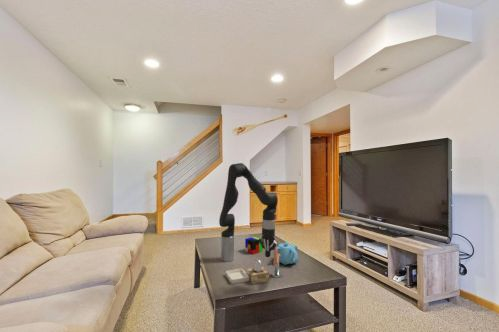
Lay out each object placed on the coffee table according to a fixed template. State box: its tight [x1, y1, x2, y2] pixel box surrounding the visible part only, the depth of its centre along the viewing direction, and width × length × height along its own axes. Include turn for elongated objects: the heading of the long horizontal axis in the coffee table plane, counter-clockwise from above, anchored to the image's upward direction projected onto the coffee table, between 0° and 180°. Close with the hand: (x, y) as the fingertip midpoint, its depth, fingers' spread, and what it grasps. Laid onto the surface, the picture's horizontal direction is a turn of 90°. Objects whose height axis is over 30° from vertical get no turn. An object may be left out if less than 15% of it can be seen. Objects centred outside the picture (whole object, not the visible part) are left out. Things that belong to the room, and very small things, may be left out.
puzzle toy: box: [244, 236, 264, 255], centre depth 187 cm, size 10×10×10 cm
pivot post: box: [269, 259, 284, 279], centre depth 143 cm, size 6×6×11 cm
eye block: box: [246, 266, 270, 285], centre depth 138 cm, size 10×10×5 cm
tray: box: [225, 268, 251, 285], centre depth 139 cm, size 13×11×2 cm
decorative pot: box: [276, 242, 299, 266], centre depth 165 cm, size 16×16×14 cm
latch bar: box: [273, 247, 280, 266], centre depth 137 cm, size 4×16×9 cm, turn 170°
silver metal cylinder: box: [253, 258, 263, 273], centre depth 138 cm, size 4×4×11 cm
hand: (267, 256), depth 133 cm, fingers closed
